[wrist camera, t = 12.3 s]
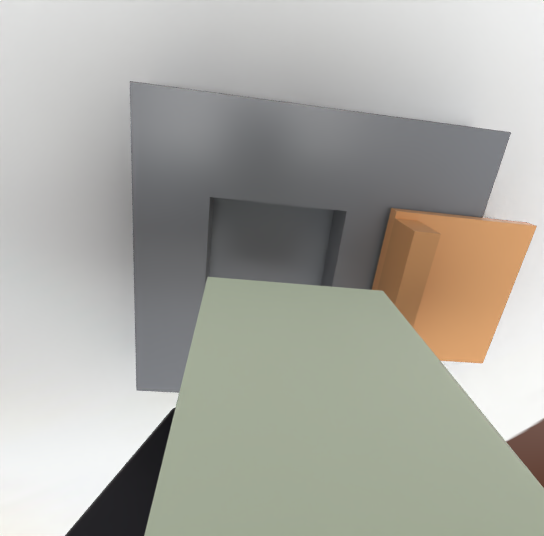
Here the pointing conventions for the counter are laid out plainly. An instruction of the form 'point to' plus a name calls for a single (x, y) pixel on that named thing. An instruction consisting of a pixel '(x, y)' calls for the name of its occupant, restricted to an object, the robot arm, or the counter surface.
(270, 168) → the socket
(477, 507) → the plug
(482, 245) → the shutter
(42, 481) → the counter surface
